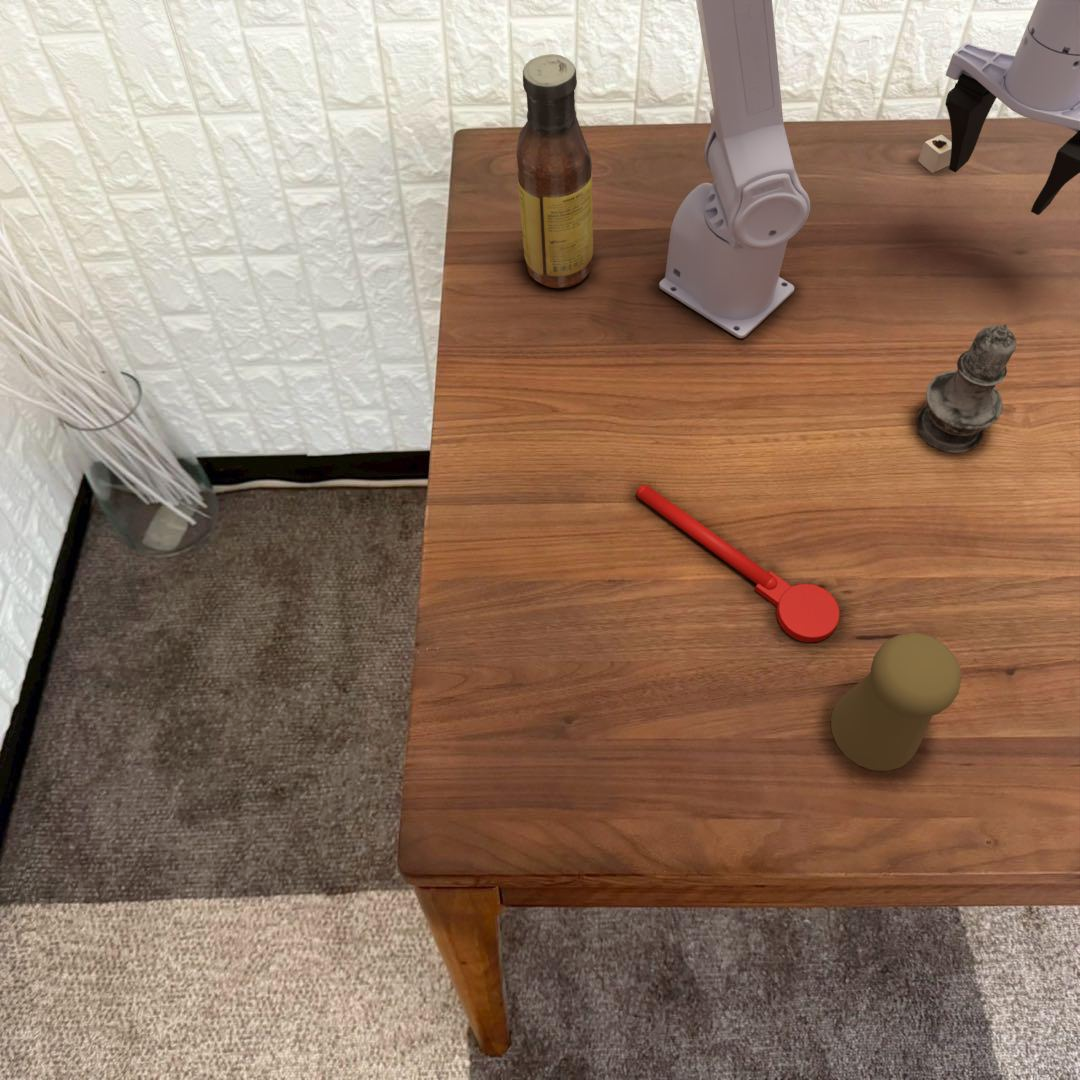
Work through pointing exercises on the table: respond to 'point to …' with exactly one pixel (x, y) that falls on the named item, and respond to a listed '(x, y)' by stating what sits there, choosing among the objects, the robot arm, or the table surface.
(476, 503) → the table surface
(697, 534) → the spoon
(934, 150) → the cube with dark pebbles
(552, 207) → the sauce bottle
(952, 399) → the chess piece
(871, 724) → the cork
